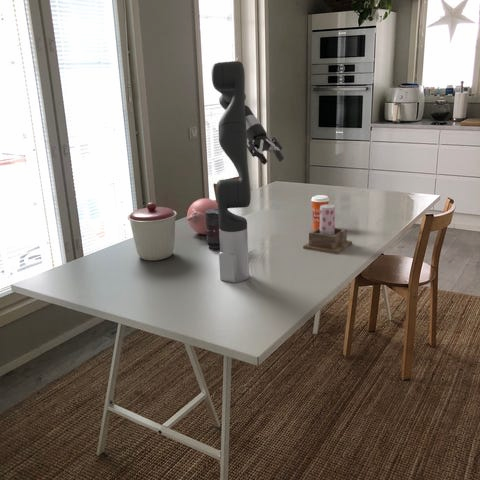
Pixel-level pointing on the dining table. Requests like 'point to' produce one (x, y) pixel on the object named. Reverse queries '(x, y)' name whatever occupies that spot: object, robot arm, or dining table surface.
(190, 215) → the pink piggy bank
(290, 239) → the dining table surface
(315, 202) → the paper cup
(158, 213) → the canister
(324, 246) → the can socket
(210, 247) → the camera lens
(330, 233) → the beverage can
